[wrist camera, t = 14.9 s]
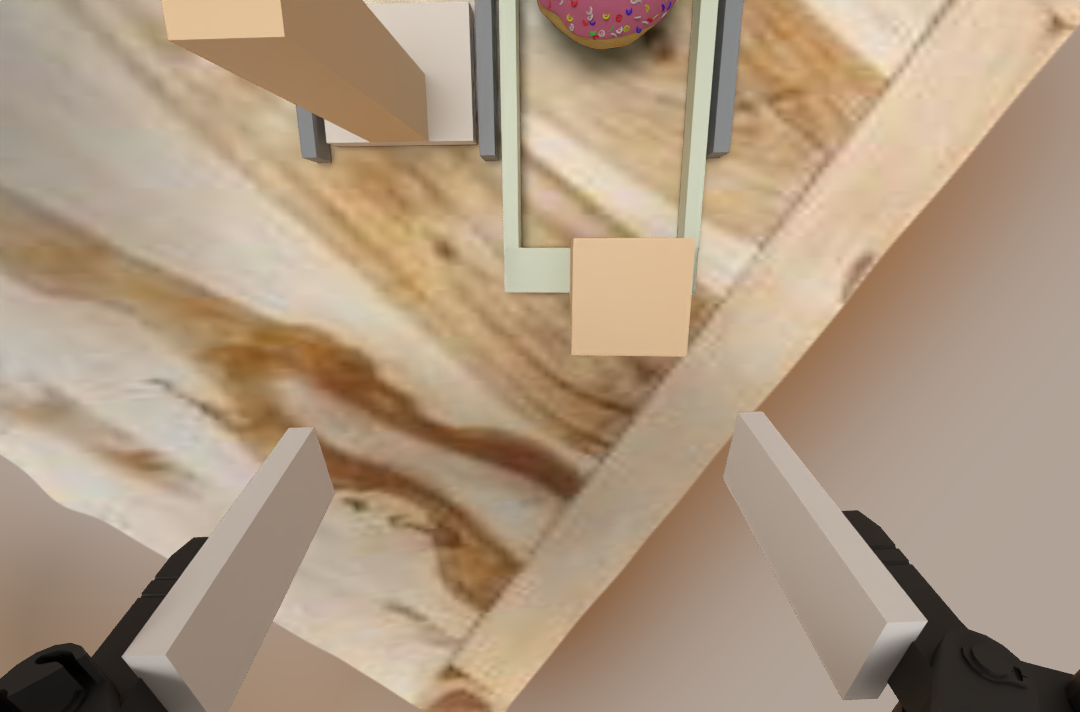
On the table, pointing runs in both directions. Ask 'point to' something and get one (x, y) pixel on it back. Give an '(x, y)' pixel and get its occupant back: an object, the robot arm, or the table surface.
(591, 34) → the cupcake
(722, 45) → the board
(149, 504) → the table surface
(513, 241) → the pale green frame
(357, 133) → the broken strip
